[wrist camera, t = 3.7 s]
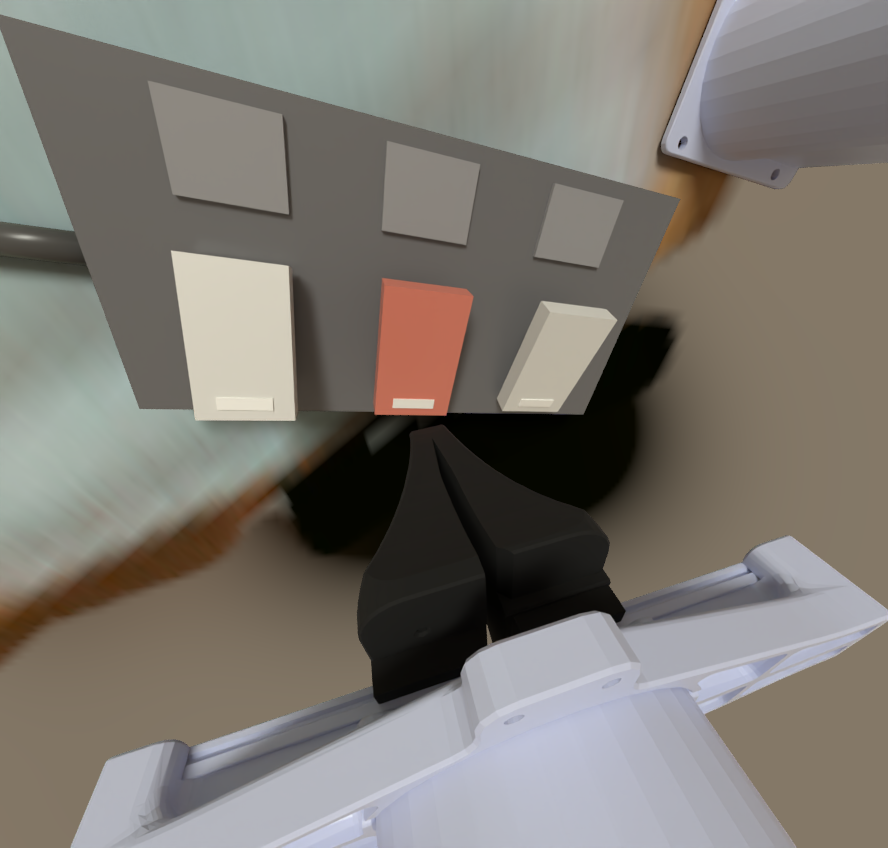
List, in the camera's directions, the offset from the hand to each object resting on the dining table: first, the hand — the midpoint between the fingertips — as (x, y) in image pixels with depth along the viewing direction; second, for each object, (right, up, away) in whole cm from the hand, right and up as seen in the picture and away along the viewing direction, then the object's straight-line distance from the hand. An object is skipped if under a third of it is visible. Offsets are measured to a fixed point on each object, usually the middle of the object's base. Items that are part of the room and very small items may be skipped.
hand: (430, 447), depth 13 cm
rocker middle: (-1, +5, +3) cm, 6 cm away
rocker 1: (-8, +4, +1) cm, 9 cm away
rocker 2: (+6, +5, +5) cm, 9 cm away
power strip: (-4, +8, +4) cm, 10 cm away
